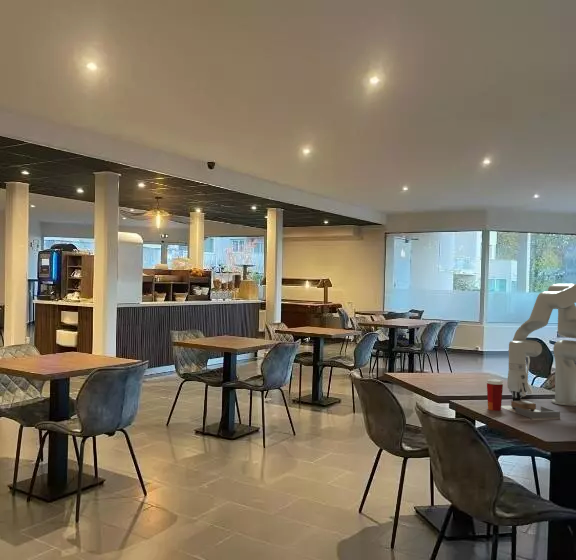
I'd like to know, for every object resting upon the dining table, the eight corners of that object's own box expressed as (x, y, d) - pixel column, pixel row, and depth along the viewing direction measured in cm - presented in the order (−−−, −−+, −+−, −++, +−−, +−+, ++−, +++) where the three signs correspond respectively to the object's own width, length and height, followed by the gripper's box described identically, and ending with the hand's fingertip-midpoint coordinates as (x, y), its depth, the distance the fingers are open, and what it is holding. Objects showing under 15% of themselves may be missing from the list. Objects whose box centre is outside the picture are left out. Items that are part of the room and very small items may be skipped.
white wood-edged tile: (526, 408, 275) (526, 400, 275) (535, 411, 268) (535, 403, 268) (511, 408, 274) (511, 400, 274) (520, 412, 267) (520, 403, 267)
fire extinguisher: (535, 396, 309) (533, 349, 310) (510, 396, 311) (509, 349, 312) (532, 394, 315) (530, 348, 317) (508, 394, 318) (507, 348, 319)
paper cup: (505, 410, 273) (505, 380, 273) (500, 413, 266) (501, 382, 267) (488, 408, 277) (488, 378, 277) (483, 410, 271) (483, 380, 271)
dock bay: (523, 406, 283) (523, 400, 283) (559, 418, 257) (559, 411, 257) (496, 406, 280) (497, 400, 280) (531, 419, 254) (531, 412, 254)
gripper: (533, 369, 270) (533, 409, 270) (515, 365, 285) (514, 402, 285) (519, 369, 269) (518, 409, 268) (501, 365, 283) (500, 403, 283)
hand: (516, 405), depth 276 cm, fingers closed
